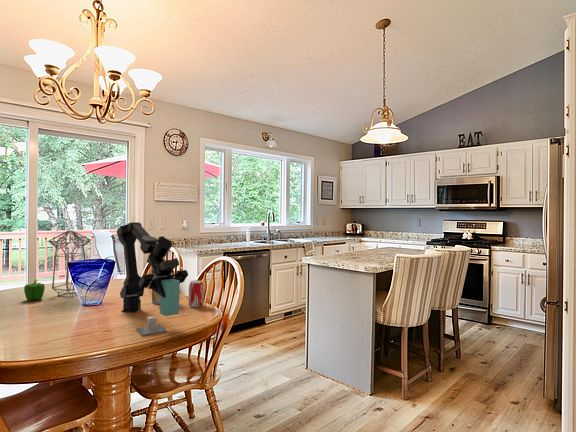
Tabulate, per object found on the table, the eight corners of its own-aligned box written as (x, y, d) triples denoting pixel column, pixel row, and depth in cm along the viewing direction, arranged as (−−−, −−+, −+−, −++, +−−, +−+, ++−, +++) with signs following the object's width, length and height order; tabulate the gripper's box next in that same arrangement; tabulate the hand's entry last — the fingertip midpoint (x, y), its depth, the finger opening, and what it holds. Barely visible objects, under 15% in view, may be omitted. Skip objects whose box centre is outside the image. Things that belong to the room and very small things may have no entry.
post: (146, 328, 135) (147, 317, 135) (153, 327, 137) (154, 316, 137) (148, 330, 133) (148, 318, 133) (155, 329, 135) (156, 317, 135)
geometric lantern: (92, 293, 195) (93, 229, 194) (70, 300, 179) (71, 231, 178) (67, 291, 197) (68, 228, 196) (43, 298, 182) (44, 230, 181)
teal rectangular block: (159, 313, 138) (160, 280, 138) (172, 311, 142) (172, 278, 142) (166, 316, 134) (167, 282, 134) (178, 313, 138) (179, 280, 138)
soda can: (199, 308, 168) (199, 283, 168) (185, 307, 169) (186, 282, 169) (205, 304, 174) (206, 280, 174) (192, 303, 176) (193, 279, 176)
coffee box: (174, 302, 178) (175, 270, 178) (165, 305, 172) (166, 272, 172) (160, 300, 182) (160, 269, 182) (151, 303, 176) (151, 270, 176)
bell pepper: (36, 302, 173) (36, 281, 173) (20, 301, 174) (20, 281, 174) (48, 297, 182) (48, 278, 182) (32, 297, 182) (33, 278, 182)
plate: (135, 329, 136) (135, 328, 136) (159, 325, 141) (159, 324, 141) (141, 336, 129) (141, 334, 129) (166, 331, 134) (166, 330, 134)
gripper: (142, 253, 134) (155, 287, 126) (186, 250, 147) (200, 280, 140) (133, 271, 139) (145, 304, 132) (176, 267, 153) (189, 297, 145)
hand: (171, 296), depth 137 cm, fingers closed on teal rectangular block, 5 cm apart
